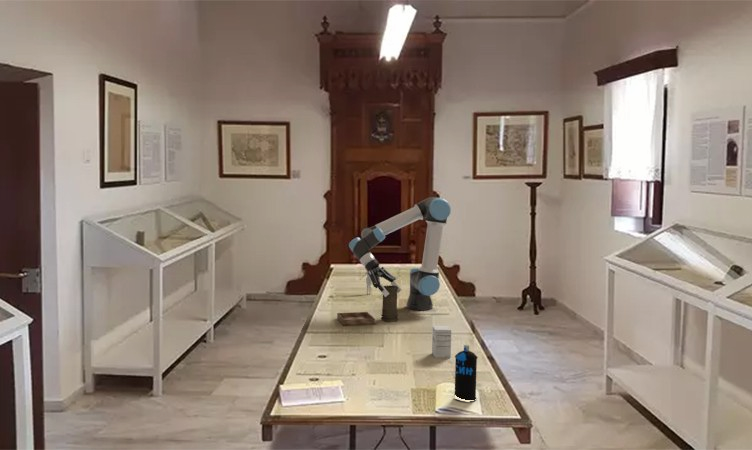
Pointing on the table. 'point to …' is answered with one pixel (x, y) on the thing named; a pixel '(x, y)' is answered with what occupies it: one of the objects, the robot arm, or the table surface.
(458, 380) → the aerosol can
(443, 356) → the supplement box
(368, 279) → the human figurine
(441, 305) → the table surface
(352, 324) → the walnut tray
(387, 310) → the container
